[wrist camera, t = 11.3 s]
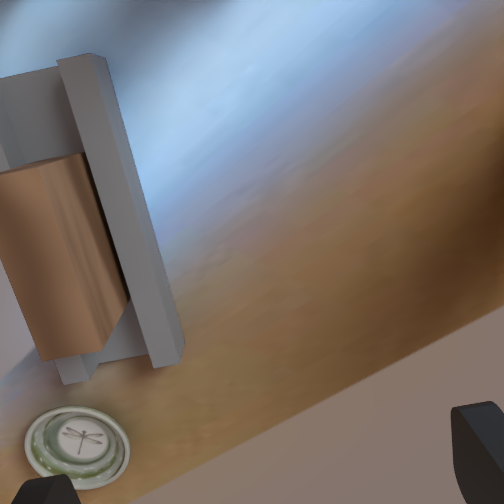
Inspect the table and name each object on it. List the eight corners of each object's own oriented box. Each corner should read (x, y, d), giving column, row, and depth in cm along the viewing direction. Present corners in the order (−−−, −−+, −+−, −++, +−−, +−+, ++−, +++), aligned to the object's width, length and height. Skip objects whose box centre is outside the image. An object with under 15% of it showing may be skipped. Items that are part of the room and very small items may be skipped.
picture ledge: (105, 58, 32) (89, 53, 29) (184, 341, 40) (179, 363, 36) (-27, 86, 32) (-57, 84, 29) (78, 361, 40) (63, 385, 37)
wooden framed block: (89, 150, 33) (37, 167, 25) (133, 293, 37) (101, 350, 29) (35, 161, 33) (-35, 182, 25) (85, 302, 37) (39, 362, 29)
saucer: (37, 468, 44) (26, 488, 42) (32, 387, 41) (20, 404, 39) (134, 474, 45) (128, 495, 43) (136, 395, 42) (130, 412, 40)
